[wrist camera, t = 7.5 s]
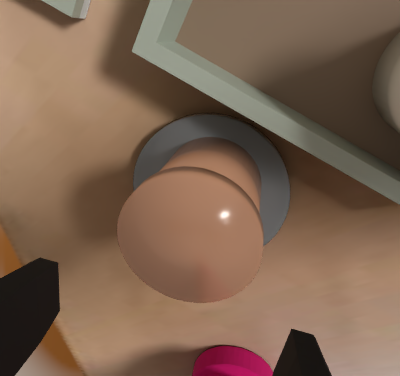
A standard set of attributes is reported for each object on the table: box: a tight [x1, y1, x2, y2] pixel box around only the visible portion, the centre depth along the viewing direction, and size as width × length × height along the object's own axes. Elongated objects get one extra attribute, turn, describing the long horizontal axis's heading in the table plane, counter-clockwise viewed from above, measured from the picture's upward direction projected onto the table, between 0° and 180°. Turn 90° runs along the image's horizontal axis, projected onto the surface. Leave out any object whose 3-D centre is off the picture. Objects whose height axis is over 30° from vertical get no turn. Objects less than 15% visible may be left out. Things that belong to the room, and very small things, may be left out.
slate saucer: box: [133, 113, 290, 246], centre depth 19 cm, size 9×9×1 cm
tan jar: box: [117, 137, 264, 303], centre depth 16 cm, size 6×6×6 cm
